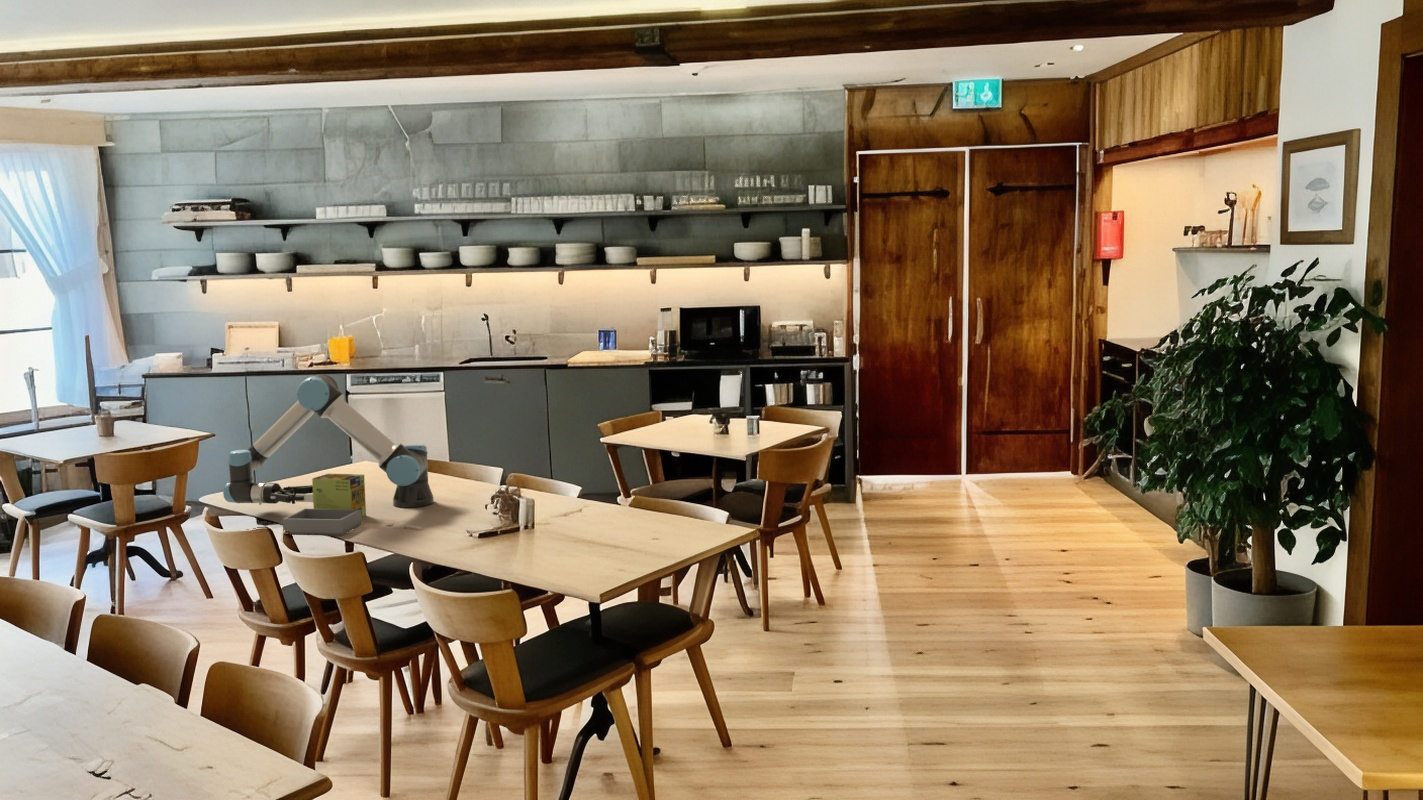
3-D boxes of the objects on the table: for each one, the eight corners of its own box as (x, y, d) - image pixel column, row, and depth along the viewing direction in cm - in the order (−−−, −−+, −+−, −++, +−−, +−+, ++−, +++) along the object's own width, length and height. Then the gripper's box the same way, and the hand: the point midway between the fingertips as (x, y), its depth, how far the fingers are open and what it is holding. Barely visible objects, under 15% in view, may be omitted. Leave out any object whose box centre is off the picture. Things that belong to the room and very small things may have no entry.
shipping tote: (361, 524, 384) (361, 509, 383) (341, 535, 368) (341, 520, 367) (305, 523, 386) (304, 508, 385) (283, 534, 370) (282, 519, 369)
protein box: (352, 522, 388) (350, 479, 386) (313, 520, 391) (311, 478, 389) (367, 515, 398) (365, 474, 397) (329, 513, 401) (327, 472, 400)
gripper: (284, 496, 409) (337, 496, 407) (249, 510, 385) (306, 511, 382) (283, 476, 408) (336, 477, 406) (248, 490, 384) (305, 491, 381)
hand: (322, 494), depth 394 cm, fingers open, 13 cm apart
